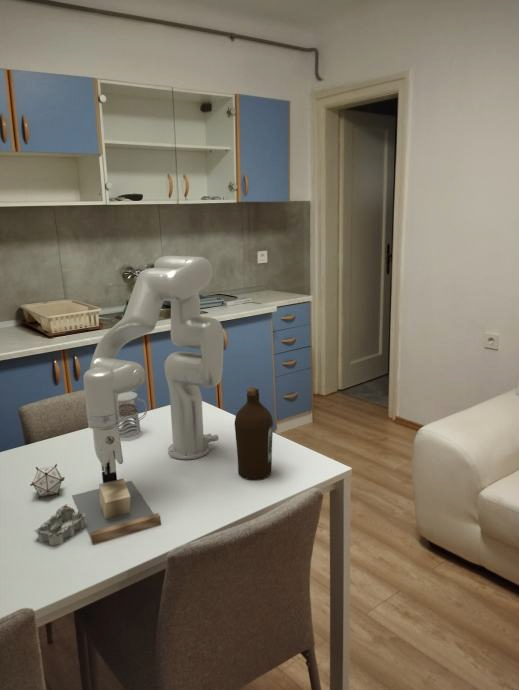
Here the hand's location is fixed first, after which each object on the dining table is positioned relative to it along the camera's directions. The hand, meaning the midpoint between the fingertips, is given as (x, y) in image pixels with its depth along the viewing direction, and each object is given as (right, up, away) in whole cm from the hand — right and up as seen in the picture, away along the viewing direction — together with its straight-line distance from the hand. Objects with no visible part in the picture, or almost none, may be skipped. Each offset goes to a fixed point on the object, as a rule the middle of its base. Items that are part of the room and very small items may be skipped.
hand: (110, 486), depth 141 cm
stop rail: (+7, -8, -10) cm, 15 cm away
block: (0, -1, -1) cm, 1 cm away
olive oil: (+36, -1, +18) cm, 41 cm away
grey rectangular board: (+1, -6, 0) cm, 6 cm away
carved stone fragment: (-9, -9, -10) cm, 15 cm away
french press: (-5, +6, +46) cm, 46 cm away
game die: (-18, -4, +8) cm, 21 cm away
